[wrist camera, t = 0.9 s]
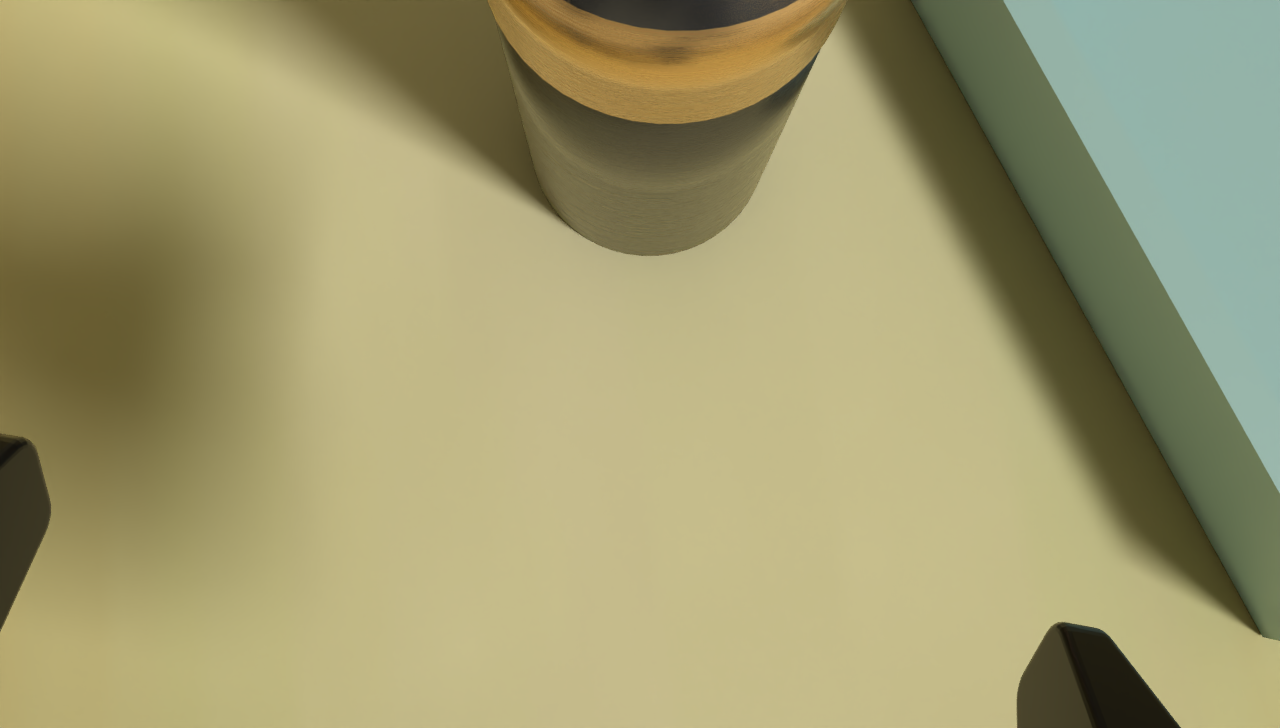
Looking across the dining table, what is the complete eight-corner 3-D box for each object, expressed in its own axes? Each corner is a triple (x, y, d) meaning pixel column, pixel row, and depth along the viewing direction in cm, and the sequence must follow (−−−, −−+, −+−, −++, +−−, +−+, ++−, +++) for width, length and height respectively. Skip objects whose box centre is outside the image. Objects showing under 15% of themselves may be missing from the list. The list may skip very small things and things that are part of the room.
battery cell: (809, 192, 24) (1028, -141, 11) (595, 299, 24) (570, 81, 11) (699, -15, 25) (789, -559, 12) (487, 88, 24) (342, -357, 12)
